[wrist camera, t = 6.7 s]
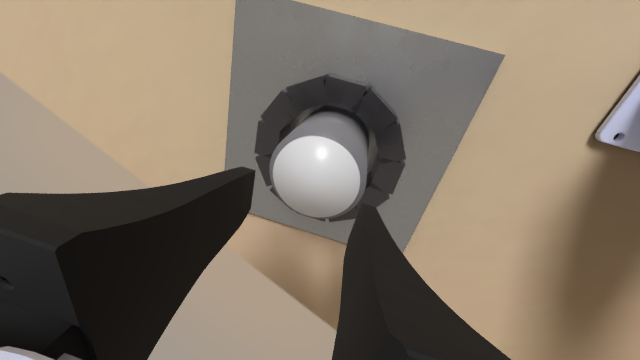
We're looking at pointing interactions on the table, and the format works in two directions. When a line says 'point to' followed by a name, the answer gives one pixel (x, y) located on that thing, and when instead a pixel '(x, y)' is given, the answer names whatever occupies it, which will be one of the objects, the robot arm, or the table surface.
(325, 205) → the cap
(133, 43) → the table surface
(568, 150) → the table surface
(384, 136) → the flat grey square plate
